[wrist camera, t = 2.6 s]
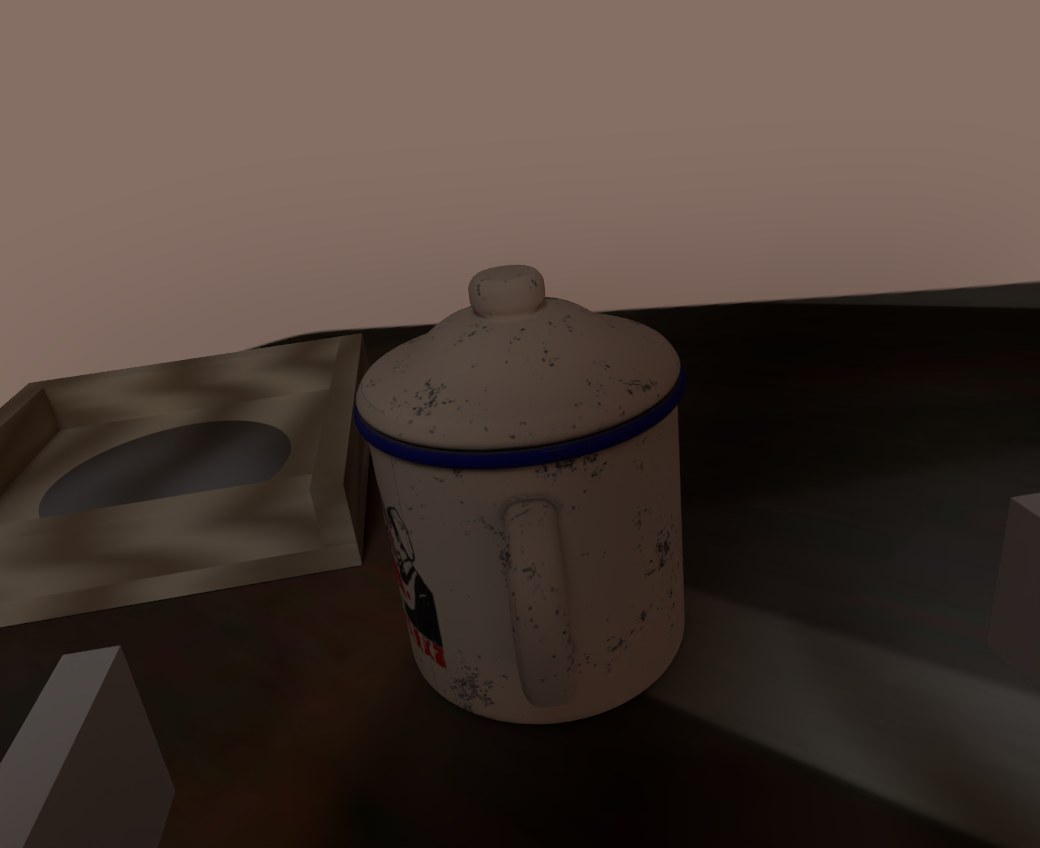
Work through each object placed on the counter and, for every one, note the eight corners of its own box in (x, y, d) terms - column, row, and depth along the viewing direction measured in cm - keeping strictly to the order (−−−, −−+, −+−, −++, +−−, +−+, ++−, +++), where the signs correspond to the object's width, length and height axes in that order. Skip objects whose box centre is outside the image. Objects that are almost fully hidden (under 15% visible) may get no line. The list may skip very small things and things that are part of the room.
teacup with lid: (419, 563, 30) (358, 253, 25) (663, 536, 30) (648, 219, 25) (376, 851, 19) (255, 404, 15) (758, 812, 19) (764, 346, 14)
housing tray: (373, 391, 47) (362, 333, 45) (361, 564, 31) (343, 483, 29) (51, 441, 45) (29, 383, 44) (-141, 651, 29) (-187, 570, 28)
